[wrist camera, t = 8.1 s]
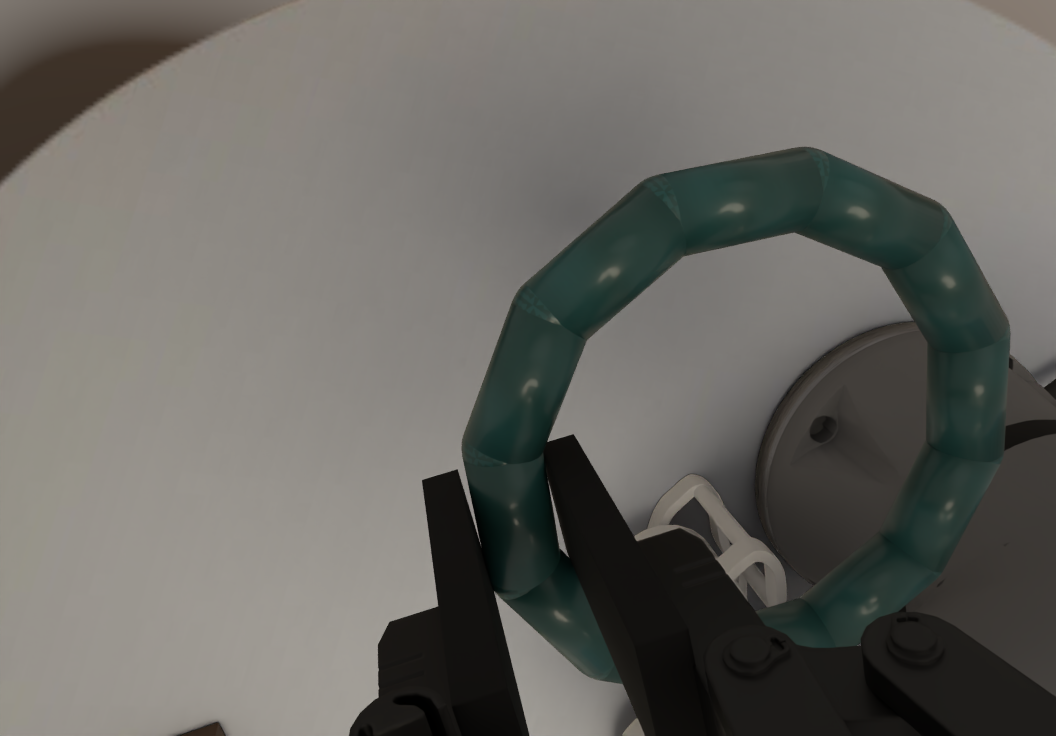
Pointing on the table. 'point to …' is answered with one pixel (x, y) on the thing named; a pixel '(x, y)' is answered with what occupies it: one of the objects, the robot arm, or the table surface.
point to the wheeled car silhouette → (720, 546)
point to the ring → (640, 259)
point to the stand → (207, 731)
